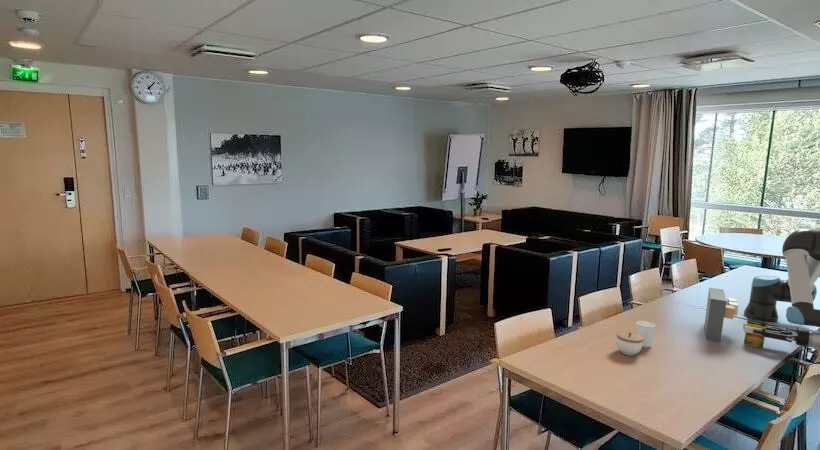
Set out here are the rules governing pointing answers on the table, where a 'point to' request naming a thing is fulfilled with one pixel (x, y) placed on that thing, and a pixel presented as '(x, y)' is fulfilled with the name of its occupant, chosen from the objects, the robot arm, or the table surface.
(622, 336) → the lidded jar
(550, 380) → the table surface
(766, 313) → the robot arm
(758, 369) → the table surface
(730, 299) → the white key
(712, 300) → the keypad console
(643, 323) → the white cup
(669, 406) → the table surface
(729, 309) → the key prompted
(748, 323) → the crayon box
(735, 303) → the key middle
